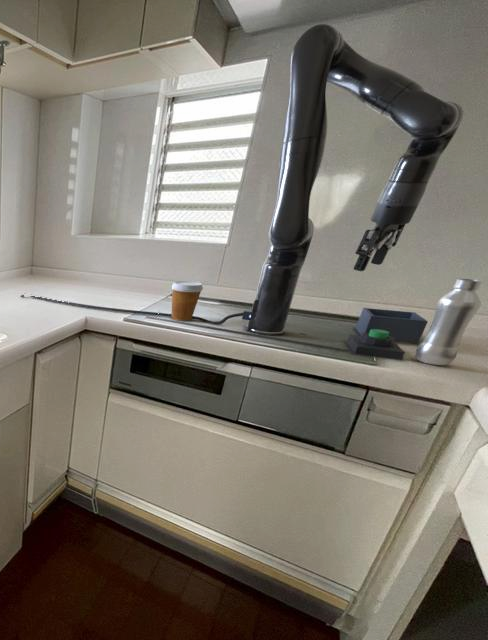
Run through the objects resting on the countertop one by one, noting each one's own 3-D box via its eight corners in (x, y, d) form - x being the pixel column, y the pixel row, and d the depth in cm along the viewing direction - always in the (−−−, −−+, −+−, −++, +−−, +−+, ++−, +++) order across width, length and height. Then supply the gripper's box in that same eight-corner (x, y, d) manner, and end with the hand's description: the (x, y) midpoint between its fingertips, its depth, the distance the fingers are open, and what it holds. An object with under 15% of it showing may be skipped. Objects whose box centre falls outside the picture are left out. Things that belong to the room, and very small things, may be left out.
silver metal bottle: (410, 357, 101) (444, 276, 94) (448, 363, 97) (488, 279, 90) (413, 364, 97) (449, 280, 89) (453, 370, 93) (495, 283, 85)
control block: (354, 354, 103) (359, 339, 102) (346, 342, 113) (351, 328, 111) (401, 360, 99) (407, 345, 98) (389, 347, 108) (394, 333, 107)
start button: (369, 338, 104) (372, 331, 103) (366, 334, 107) (369, 328, 106) (388, 340, 102) (390, 333, 102) (384, 336, 105) (387, 330, 104)
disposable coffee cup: (166, 320, 135) (173, 284, 130) (165, 314, 143) (171, 280, 138) (198, 323, 132) (205, 286, 127) (195, 316, 140) (202, 281, 135)
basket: (363, 338, 116) (371, 315, 114) (355, 328, 125) (363, 307, 123) (418, 344, 111) (428, 321, 108) (405, 334, 120) (415, 312, 117)
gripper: (394, 195, 102) (364, 258, 111) (364, 203, 97) (336, 268, 106) (432, 199, 97) (398, 265, 106) (402, 207, 92) (369, 276, 100)
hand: (367, 267), depth 106 cm, fingers open, 8 cm apart
